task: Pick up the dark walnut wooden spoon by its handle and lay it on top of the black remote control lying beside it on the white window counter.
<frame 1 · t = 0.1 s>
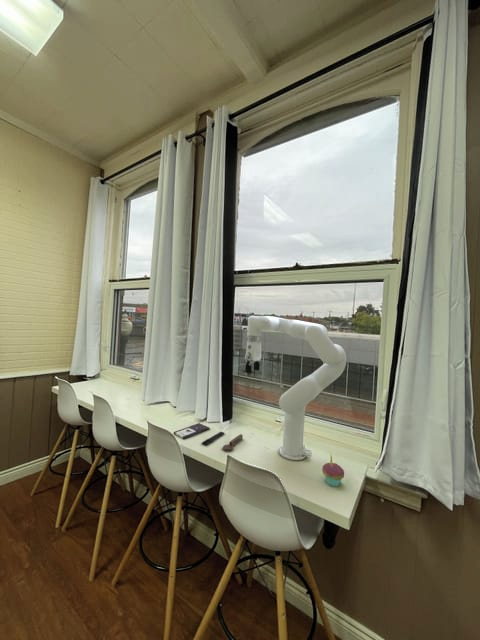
hand: (252, 371, 140), 37 cm above the table, tool pointing down, fingers open, 9 cm apart
chocolate bar: (192, 431, 147), on the table
cupcake: (332, 482, 107), on the table
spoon: (233, 445, 134), on the table
black remote control: (214, 438, 140), on the table
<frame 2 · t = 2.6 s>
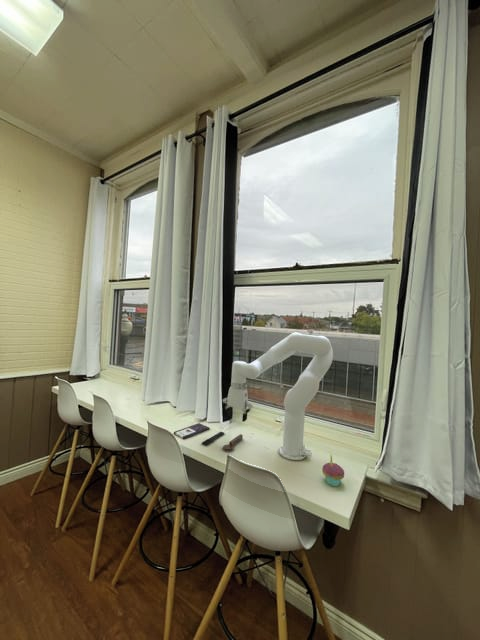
hand: (236, 418, 136), 13 cm above the table, tool pointing down, fingers open, 9 cm apart
nothing on the table moved.
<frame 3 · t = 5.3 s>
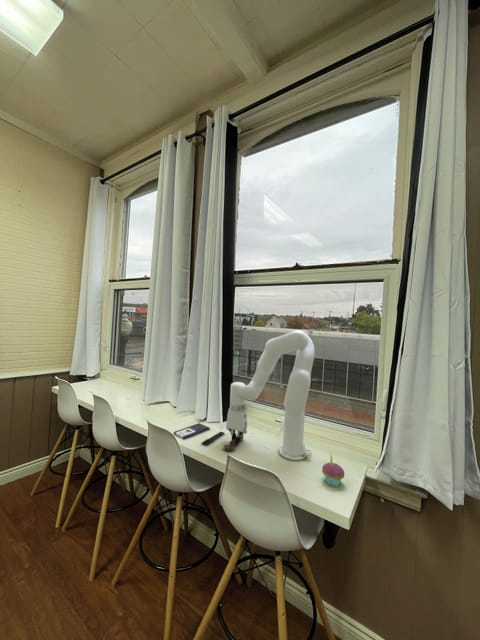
hand: (235, 442, 135), 1 cm above the table, tool pointing down, fingers closed on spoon
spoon: (234, 444, 134), on the table, touching gripper
everything else where it was.
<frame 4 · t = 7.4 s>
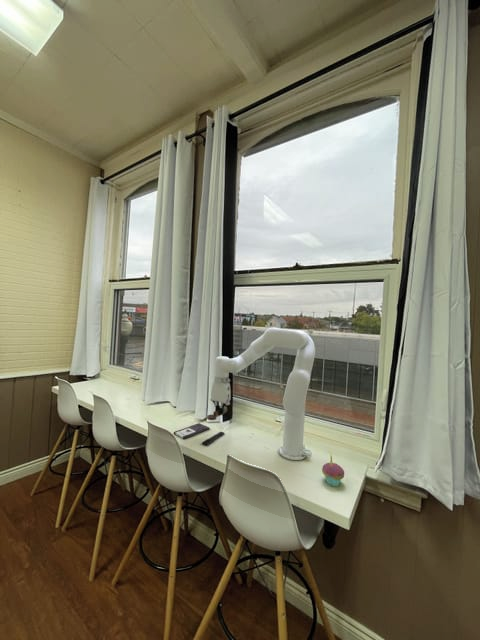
hand: (219, 414, 141), 13 cm above the table, tool pointing down, fingers closed on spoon
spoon: (217, 415, 139), point 13 cm above the table, touching gripper
everything else where it was.
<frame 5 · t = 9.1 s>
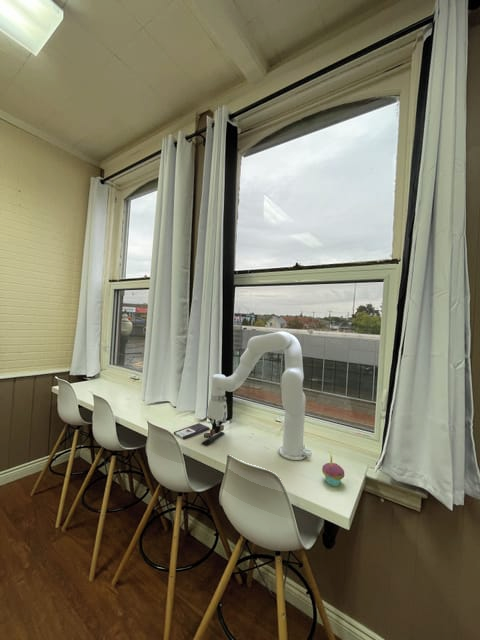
hand: (215, 431, 141), 3 cm above the table, tool pointing down, fingers closed on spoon
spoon: (214, 433, 140), point 3 cm above the table, touching gripper
everything else where it was.
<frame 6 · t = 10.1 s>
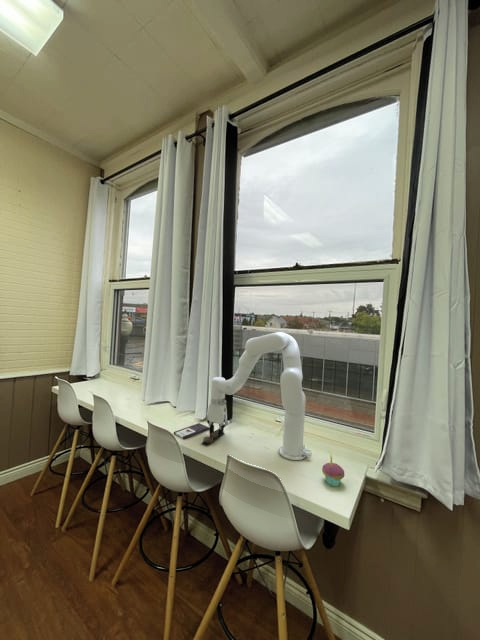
hand: (215, 434, 141), 2 cm above the table, tool pointing down, fingers open, 5 cm apart
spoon: (214, 437, 140), point 1 cm above the table, touching black remote control
black remote control: (214, 438, 140), on the table, touching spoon
everything else where it was.
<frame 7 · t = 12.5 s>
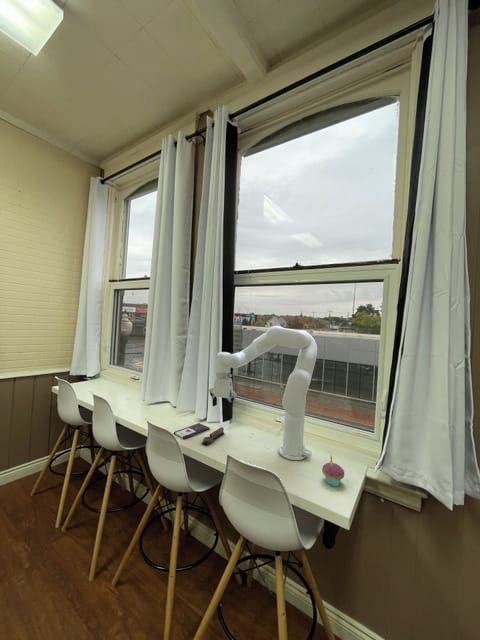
hand: (222, 407, 142), 16 cm above the table, tool pointing down, fingers open, 9 cm apart
nothing on the table moved.
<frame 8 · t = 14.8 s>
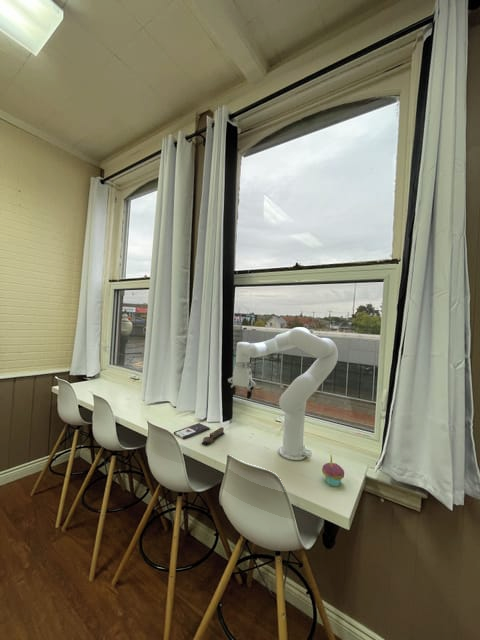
hand: (241, 396, 143), 22 cm above the table, tool pointing down, fingers open, 9 cm apart
nothing on the table moved.
at the end: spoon 0.1 cm off-centre on the black remote control, point 0.8 cm above the black remote control's base; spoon touching black remote control; the gripper is holding nothing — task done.
